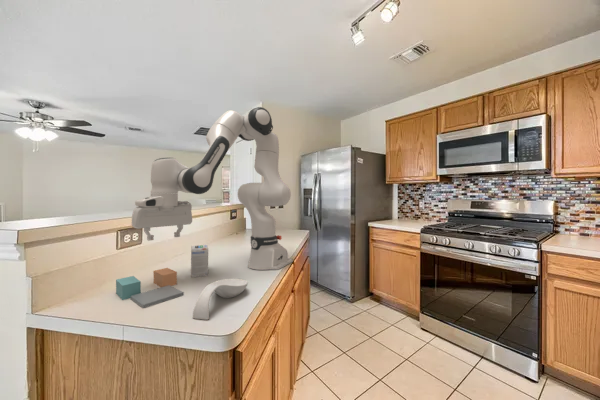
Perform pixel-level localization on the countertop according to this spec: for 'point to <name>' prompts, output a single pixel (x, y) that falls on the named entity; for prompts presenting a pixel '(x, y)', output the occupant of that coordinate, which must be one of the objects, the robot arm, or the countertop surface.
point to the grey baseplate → (156, 296)
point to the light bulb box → (199, 260)
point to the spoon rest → (223, 289)
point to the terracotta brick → (165, 277)
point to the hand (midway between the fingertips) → (164, 238)
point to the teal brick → (127, 287)
